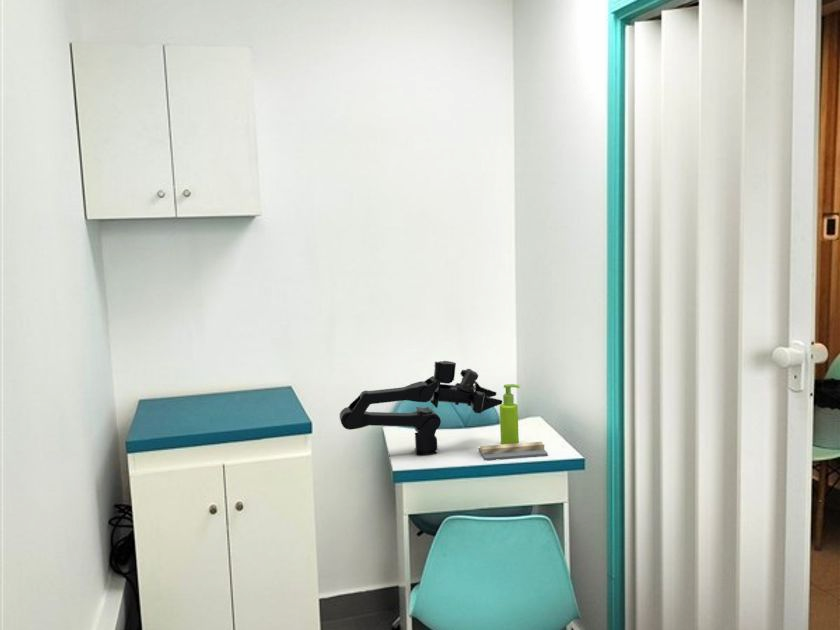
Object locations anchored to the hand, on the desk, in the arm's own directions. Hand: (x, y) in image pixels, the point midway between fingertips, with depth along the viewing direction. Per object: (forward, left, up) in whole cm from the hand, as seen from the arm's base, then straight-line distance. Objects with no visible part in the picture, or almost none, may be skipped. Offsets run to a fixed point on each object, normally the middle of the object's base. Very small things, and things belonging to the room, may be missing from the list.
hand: (499, 397), depth 248 cm
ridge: (+2, -9, -16) cm, 18 cm away
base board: (+2, -9, -16) cm, 18 cm away
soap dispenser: (+4, +1, -16) cm, 17 cm away
